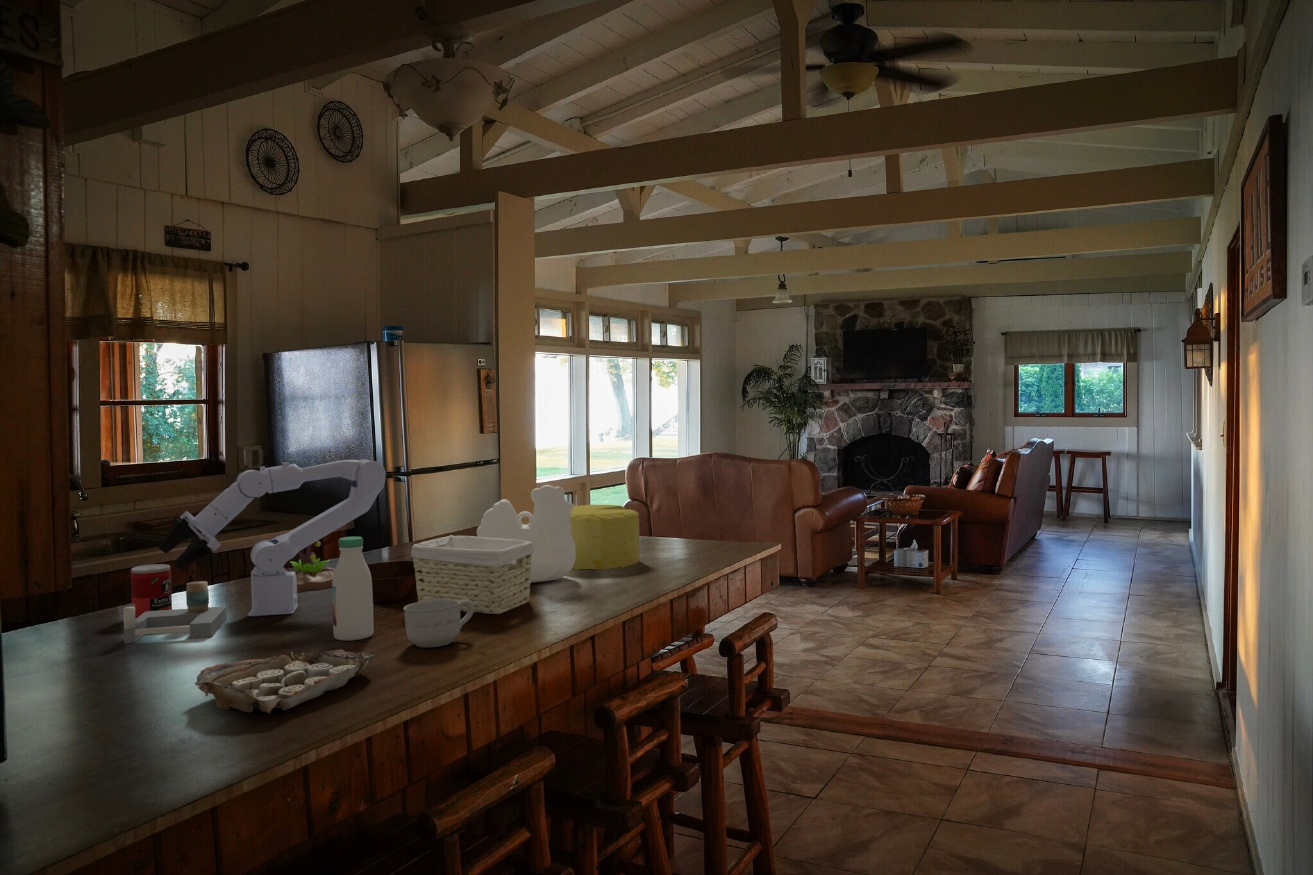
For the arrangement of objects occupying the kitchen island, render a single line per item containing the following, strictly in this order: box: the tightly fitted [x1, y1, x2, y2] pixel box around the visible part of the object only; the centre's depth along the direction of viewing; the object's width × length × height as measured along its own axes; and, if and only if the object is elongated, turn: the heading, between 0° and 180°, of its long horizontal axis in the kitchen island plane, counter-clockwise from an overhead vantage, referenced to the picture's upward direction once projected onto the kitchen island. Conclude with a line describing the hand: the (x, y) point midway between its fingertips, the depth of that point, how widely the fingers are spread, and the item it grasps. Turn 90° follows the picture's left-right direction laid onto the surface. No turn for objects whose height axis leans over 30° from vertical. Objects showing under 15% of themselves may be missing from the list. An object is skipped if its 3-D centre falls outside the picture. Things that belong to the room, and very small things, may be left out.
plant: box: [286, 540, 336, 593], centre depth 243 cm, size 20×20×11 cm
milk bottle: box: [331, 536, 375, 642], centre depth 188 cm, size 8×8×20 cm
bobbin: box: [185, 580, 210, 613], centre depth 200 cm, size 4×4×6 cm
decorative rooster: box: [476, 484, 576, 583], centre depth 242 cm, size 25×16×25 cm, turn 75°
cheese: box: [570, 504, 641, 570], centre depth 268 cm, size 26×26×15 cm
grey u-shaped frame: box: [123, 605, 228, 644], centre depth 195 cm, size 16×16×7 cm
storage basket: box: [410, 534, 534, 615], centre depth 215 cm, size 24×16×15 cm
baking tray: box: [194, 649, 376, 714], centre depth 155 cm, size 30×22×5 cm
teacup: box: [403, 599, 475, 649], centre depth 183 cm, size 14×11×8 cm
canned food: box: [130, 563, 173, 619], centre depth 209 cm, size 8×8×11 cm
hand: (169, 558), depth 201 cm, fingers open, 7 cm apart
